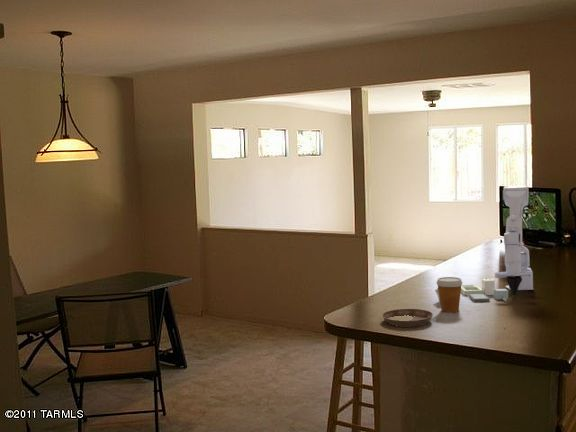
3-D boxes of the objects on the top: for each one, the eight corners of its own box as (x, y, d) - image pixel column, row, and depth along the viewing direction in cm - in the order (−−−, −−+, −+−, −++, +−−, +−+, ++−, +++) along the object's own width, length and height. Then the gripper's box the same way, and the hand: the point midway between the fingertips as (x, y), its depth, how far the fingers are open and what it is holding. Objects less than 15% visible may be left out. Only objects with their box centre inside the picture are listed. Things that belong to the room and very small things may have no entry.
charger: (492, 292, 253) (491, 277, 253) (494, 294, 249) (494, 279, 249) (482, 293, 254) (482, 277, 253) (485, 295, 250) (484, 279, 249)
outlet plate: (476, 289, 262) (476, 284, 261) (483, 295, 250) (483, 290, 250) (457, 289, 262) (457, 285, 262) (464, 295, 250) (464, 290, 250)
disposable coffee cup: (445, 314, 221) (444, 282, 220) (432, 309, 230) (431, 278, 229) (468, 311, 224) (467, 280, 223) (454, 306, 233) (453, 275, 232)
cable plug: (505, 297, 244) (505, 288, 244) (512, 301, 236) (511, 292, 236) (494, 297, 244) (494, 289, 244) (500, 302, 236) (500, 293, 236)
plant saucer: (372, 324, 214) (371, 315, 214) (401, 314, 226) (400, 306, 226) (414, 332, 201) (414, 323, 201) (442, 320, 214) (442, 312, 213)
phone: (483, 296, 247) (483, 293, 247) (489, 301, 238) (489, 298, 238) (468, 297, 247) (468, 294, 247) (474, 302, 238) (474, 299, 238)
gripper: (497, 263, 237) (498, 297, 238) (535, 262, 237) (535, 296, 238) (492, 260, 244) (493, 293, 245) (529, 259, 244) (529, 292, 245)
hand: (513, 294), depth 242 cm, fingers closed
